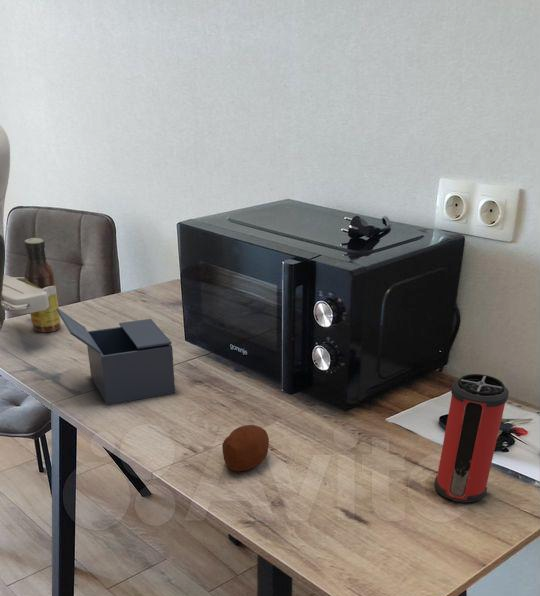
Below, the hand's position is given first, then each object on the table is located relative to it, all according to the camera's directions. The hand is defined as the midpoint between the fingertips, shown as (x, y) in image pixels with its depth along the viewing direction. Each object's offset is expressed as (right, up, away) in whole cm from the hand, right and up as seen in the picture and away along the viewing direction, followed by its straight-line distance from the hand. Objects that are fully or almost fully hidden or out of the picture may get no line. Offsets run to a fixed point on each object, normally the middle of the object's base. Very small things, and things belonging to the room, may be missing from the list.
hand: (43, 284), depth 155 cm
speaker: (+79, -45, -47) cm, 102 cm away
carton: (+23, -25, -19) cm, 39 cm away
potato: (+46, -40, -42) cm, 74 cm away
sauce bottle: (-1, -9, +5) cm, 10 cm away
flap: (+16, -16, -29) cm, 36 cm away
